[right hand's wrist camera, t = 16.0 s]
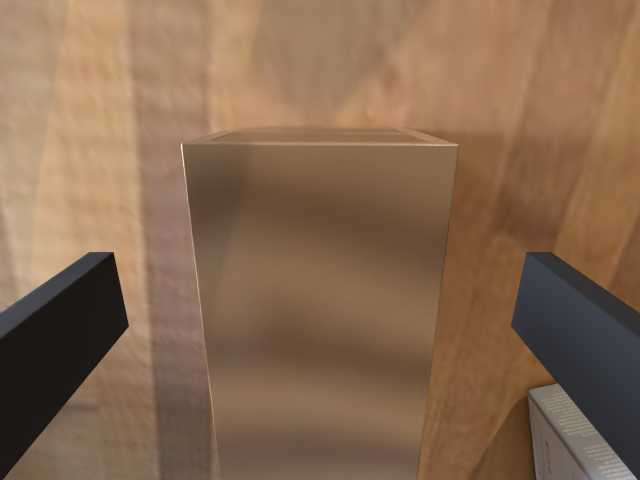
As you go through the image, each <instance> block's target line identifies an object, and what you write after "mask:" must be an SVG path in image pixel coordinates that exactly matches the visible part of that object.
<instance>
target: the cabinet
mask: <svg viewBox="0 0 640 480" xmlns="http://www.w3.org/2000/svg"><path fill="white" fill-rule="evenodd" d="M181 148H182V156H183V165H184V174H185V182H186V191H187V199H188V208H189V216H190V225H191V233H192V242H193V250H194V259H195V268H196V276H197V285H198V293H199V302H200V310H201V319H202V327H203V336H204V344H205V353H206V362H207V370H208V379H209V387H210V396H211V404H212V413H213V421H214V430H215V438H216V447H217V456H218V464H219V473H220V480H417V476H418V468H419V460H420V453H421V445H422V437H423V429H424V421H425V413H426V405H427V397H428V389H429V381H430V373H431V365H432V357H433V349H434V342H435V334H436V326H437V318H438V310H439V302H440V294H441V286H442V278H443V270H444V262H445V254H446V246H447V238H448V231H449V223H450V215H451V207H452V199H453V191H454V183H455V175H456V167H457V159H458V151H459V145H458V144H455V143H452V142H449V141H446V140H443V139H440V138H436V137H433V136H430V135H427V134H424V133H421V132H418V131H415V130H411V129H408V128H310V127H233V128H230V129H227V130H223V131H220V132H217V133H214V134H211V135H207V136H204V137H201V138H198V139H195V140H191V141H188V142H185V143H182V144H181Z"/></svg>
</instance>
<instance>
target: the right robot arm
mask: <svg viewBox="0 0 640 480" xmlns="http://www.w3.org/2000/svg"><path fill="white" fill-rule="evenodd" d="M128 327H129V324H128V320H127V315H126V310H125V305H124V300H123V296H122V291H121V286H120V281H119V276H118V272H117V267H116V262H115V257H114V252H89V253H87V254H86V255H85V256H83V257H82V258H80V259H79V260H77V261H76V262H74V263H73V264H71V265H70V266H69V267H67V268H66V269H64V270H63V271H61V272H60V273H58V274H57V275H55V276H54V277H52V278H51V279H50V280H48V281H47V282H45V283H44V284H42V285H41V286H39V287H38V288H36V289H35V290H34V291H32V292H31V293H29V294H28V295H26V296H25V297H23V298H22V299H20V300H19V301H17V302H16V303H15V304H13V305H12V306H10V307H9V308H7V309H6V310H4V311H3V312H1V313H0V480H3V479H4V478H5V476H6V475H7V474H8V473H9V471H10V470H11V469H12V468H13V467H14V465H15V464H16V463H17V462H18V461H19V459H20V458H21V457H22V456H23V454H24V453H25V452H26V451H27V450H28V448H29V447H30V446H31V445H32V443H33V442H34V441H35V440H36V439H37V437H38V436H39V435H40V434H41V433H42V431H43V430H44V429H45V428H46V426H47V425H48V424H49V423H50V422H51V420H52V419H53V418H54V417H55V416H56V414H57V413H58V412H59V411H60V409H61V408H62V407H63V406H64V405H65V403H66V402H67V401H68V400H69V399H70V397H71V396H72V395H73V394H74V392H75V391H76V390H77V389H78V388H79V386H80V385H81V384H82V383H83V381H84V380H85V379H86V378H87V377H88V375H89V374H90V373H91V372H92V371H93V369H94V368H95V367H96V366H97V364H98V363H99V362H100V361H101V360H102V358H103V357H104V356H105V355H106V354H107V352H108V351H109V350H110V349H111V347H112V346H113V345H114V344H115V343H116V341H117V340H118V339H119V338H120V337H121V335H122V334H123V333H124V332H125V330H126V329H127V328H128ZM511 327H512V328H513V329H514V330H515V332H516V333H517V334H518V335H519V337H520V338H521V339H522V340H523V341H524V343H525V344H526V345H527V346H528V347H529V349H530V350H531V351H532V352H533V354H534V355H535V356H536V357H537V358H538V360H539V361H540V362H541V363H542V364H543V366H544V367H545V368H546V369H547V371H548V372H549V373H550V374H551V375H552V377H553V378H554V379H555V380H556V381H557V383H558V384H559V385H560V386H561V388H562V389H563V390H564V391H565V392H566V394H567V395H568V396H569V397H570V399H571V400H572V401H573V402H574V403H575V405H576V406H577V407H578V408H579V409H580V411H581V412H582V413H583V414H584V416H585V417H586V418H587V419H588V420H589V422H590V423H591V424H592V425H593V426H594V428H595V429H596V430H597V431H598V433H599V434H600V435H601V436H602V437H603V439H604V440H605V441H606V442H607V443H608V445H609V446H610V447H611V448H612V450H613V451H614V452H615V453H616V454H617V456H618V457H619V458H620V459H621V461H622V462H623V463H624V464H625V465H626V467H627V468H628V469H629V470H630V471H631V473H632V474H633V475H634V476H635V478H636V479H637V480H640V313H639V312H637V311H636V310H634V309H633V308H631V307H630V306H628V305H627V304H625V303H624V302H623V301H621V300H620V299H618V298H617V297H615V296H614V295H612V294H611V293H609V292H608V291H606V290H605V289H604V288H602V287H601V286H599V285H598V284H596V283H595V282H593V281H592V280H590V279H589V278H588V277H586V276H585V275H583V274H582V273H580V272H579V271H577V270H576V269H574V268H573V267H571V266H570V265H569V264H567V263H566V262H564V261H563V260H561V259H560V258H558V257H557V256H555V255H554V254H553V253H551V252H526V257H525V262H524V267H523V272H522V276H521V281H520V286H519V291H518V296H517V300H516V305H515V310H514V315H513V320H512V324H511Z"/></svg>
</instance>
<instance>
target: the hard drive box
mask: <svg viewBox="0 0 640 480" xmlns="http://www.w3.org/2000/svg"><path fill="white" fill-rule="evenodd" d="M528 402H529V410H530V423H531V432H532V440H533V452H534V460H535V472H536V480H637V479H636V478H635V476H634V475H633V474H632V473H631V471H630V470H629V469H628V468H627V467H626V465H625V464H624V463H623V462H622V461H621V459H620V458H619V457H618V456H617V454H616V453H615V452H614V451H613V450H612V448H611V447H610V446H609V445H608V443H607V442H606V441H605V440H604V439H603V437H602V436H601V435H600V434H599V433H598V431H597V430H596V429H595V428H594V426H593V425H592V424H591V423H590V422H589V420H588V419H587V418H586V417H585V416H584V414H583V413H582V412H581V411H580V409H579V408H578V407H577V406H576V405H575V403H574V402H573V401H572V400H571V399H570V397H569V396H568V395H567V394H566V392H565V391H564V390H563V389H562V388H561V386H560V385H559V384H558V383H557V384H553V385H548V386H544V387H539V388H534V389H530V390H528Z"/></svg>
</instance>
